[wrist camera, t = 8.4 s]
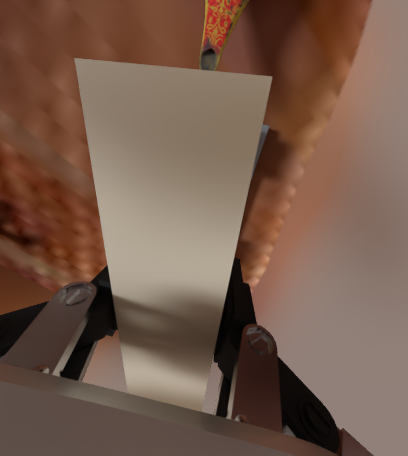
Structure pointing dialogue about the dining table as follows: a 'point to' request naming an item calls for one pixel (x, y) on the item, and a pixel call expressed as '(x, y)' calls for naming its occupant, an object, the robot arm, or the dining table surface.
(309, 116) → the dining table surface
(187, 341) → the birch slat
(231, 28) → the magic lamp
